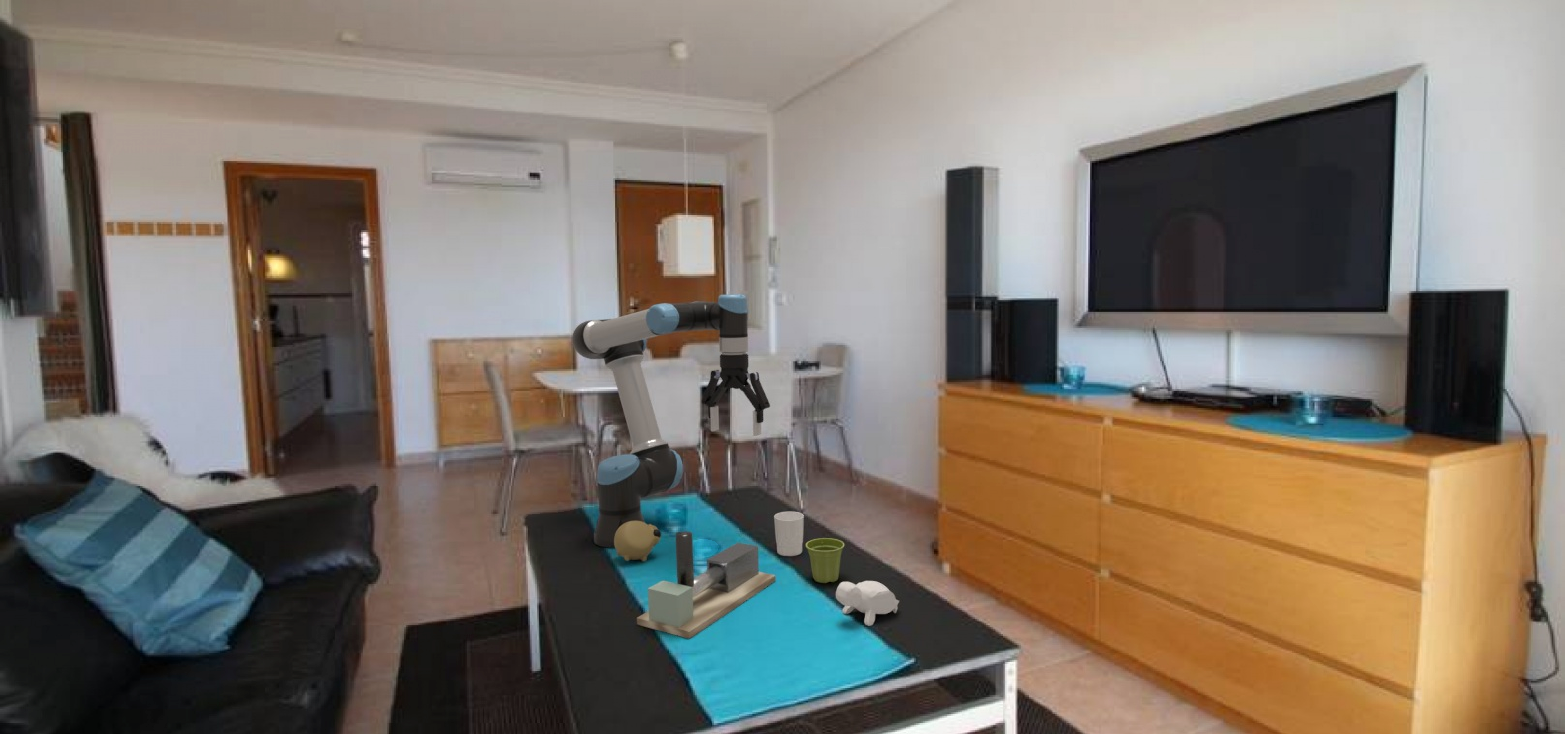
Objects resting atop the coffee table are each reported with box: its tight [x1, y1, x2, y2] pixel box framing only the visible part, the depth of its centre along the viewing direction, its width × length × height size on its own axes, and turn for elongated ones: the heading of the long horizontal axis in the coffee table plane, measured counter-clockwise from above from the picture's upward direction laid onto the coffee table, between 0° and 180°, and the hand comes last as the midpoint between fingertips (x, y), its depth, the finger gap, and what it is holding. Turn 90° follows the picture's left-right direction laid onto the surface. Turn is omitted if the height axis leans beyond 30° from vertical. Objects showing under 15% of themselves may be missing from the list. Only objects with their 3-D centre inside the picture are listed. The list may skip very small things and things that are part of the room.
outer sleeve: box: [706, 542, 760, 593], centre depth 182 cm, size 6×13×7 cm, turn 149°
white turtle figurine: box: [835, 580, 900, 627], centre depth 164 cm, size 9×8×15 cm
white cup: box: [773, 511, 805, 557], centre depth 204 cm, size 8×8×10 cm
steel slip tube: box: [675, 530, 726, 597], centre depth 169 cm, size 4×21×15 cm, turn 149°
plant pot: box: [805, 537, 845, 584], centre depth 185 cm, size 9×9×9 cm
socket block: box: [647, 580, 694, 628], centre depth 161 cm, size 8×5×7 cm, turn 59°
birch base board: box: [636, 571, 776, 640], centre depth 174 cm, size 14×34×2 cm, turn 149°
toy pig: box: [614, 521, 662, 563], centre depth 201 cm, size 10×12×11 cm
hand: (735, 432), depth 203 cm, fingers open, 13 cm apart
